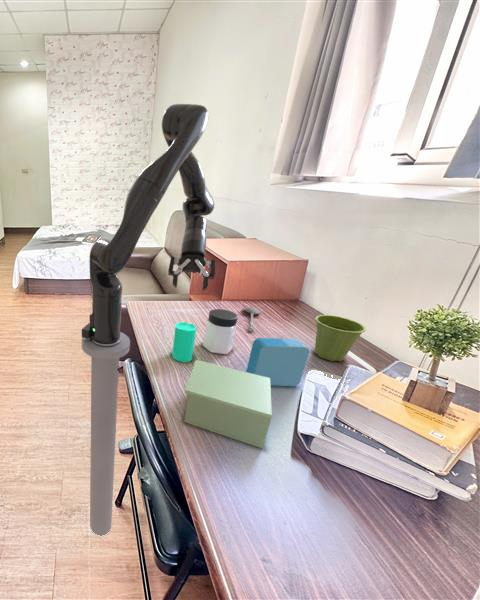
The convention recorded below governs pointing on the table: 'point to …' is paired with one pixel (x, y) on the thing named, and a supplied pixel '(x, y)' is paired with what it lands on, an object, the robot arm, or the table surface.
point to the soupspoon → (251, 311)
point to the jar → (220, 331)
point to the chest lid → (231, 388)
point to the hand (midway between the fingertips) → (189, 287)
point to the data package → (278, 360)
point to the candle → (183, 342)
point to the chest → (227, 420)
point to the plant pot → (336, 336)
